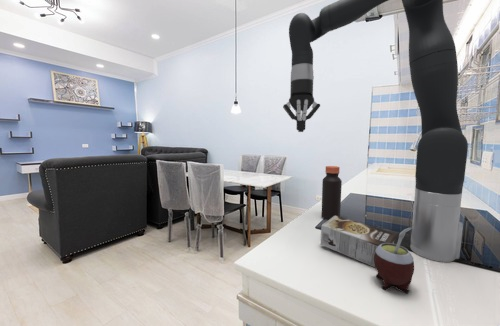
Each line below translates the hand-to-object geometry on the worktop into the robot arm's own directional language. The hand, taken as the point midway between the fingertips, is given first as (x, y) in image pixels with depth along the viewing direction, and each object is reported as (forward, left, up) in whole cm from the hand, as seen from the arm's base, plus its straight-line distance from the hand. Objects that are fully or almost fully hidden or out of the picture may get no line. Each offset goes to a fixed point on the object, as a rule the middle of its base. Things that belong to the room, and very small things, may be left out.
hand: (300, 131), depth 77 cm
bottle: (-13, -5, -33) cm, 36 cm away
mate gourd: (-14, +34, -33) cm, 50 cm away
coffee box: (-6, +15, -29) cm, 33 cm away
